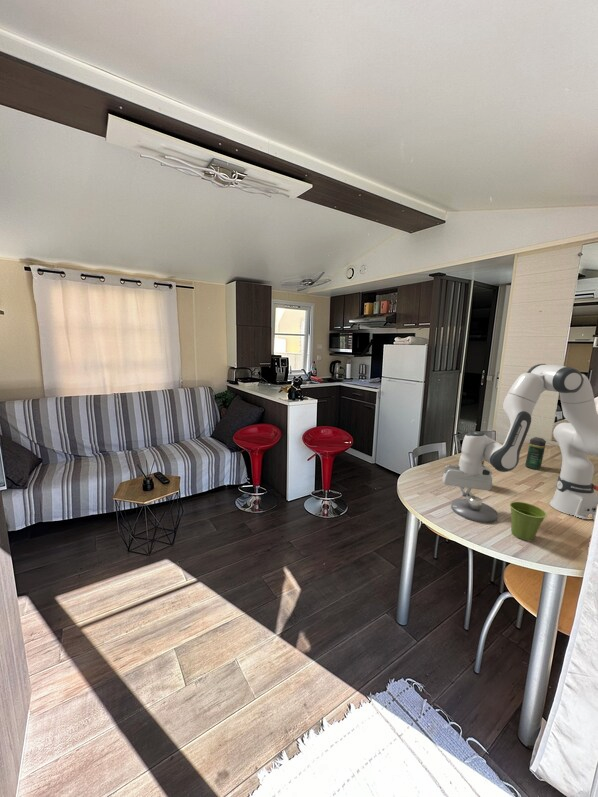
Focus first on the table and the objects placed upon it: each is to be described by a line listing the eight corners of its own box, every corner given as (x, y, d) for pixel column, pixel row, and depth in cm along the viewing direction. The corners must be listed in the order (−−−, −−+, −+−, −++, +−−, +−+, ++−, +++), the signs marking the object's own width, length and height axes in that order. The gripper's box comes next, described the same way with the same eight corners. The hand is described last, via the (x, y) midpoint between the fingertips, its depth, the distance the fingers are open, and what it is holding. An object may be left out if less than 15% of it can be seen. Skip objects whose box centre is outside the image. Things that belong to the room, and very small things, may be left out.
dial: (482, 511, 142) (484, 501, 141) (471, 510, 142) (472, 501, 141) (472, 500, 151) (473, 491, 150) (461, 499, 151) (462, 491, 150)
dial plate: (486, 504, 152) (487, 500, 152) (505, 525, 135) (505, 521, 134) (446, 499, 154) (446, 496, 154) (458, 520, 137) (459, 516, 137)
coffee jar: (539, 471, 197) (545, 441, 194) (523, 467, 202) (529, 438, 199) (541, 467, 204) (547, 438, 201) (526, 463, 210) (531, 435, 206)
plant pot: (534, 549, 120) (540, 520, 118) (499, 532, 129) (504, 506, 127) (546, 538, 127) (551, 511, 125) (512, 524, 136) (517, 498, 134)
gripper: (447, 466, 145) (442, 495, 148) (496, 472, 143) (490, 502, 146) (443, 461, 152) (438, 489, 154) (490, 467, 149) (484, 495, 152)
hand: (463, 495), depth 150 cm, fingers closed
